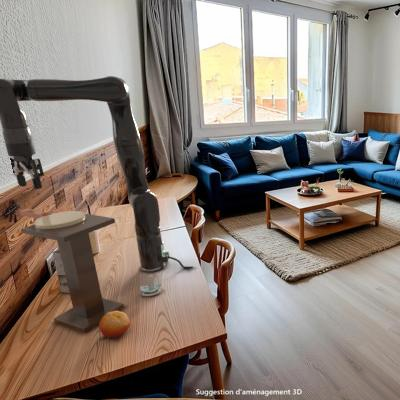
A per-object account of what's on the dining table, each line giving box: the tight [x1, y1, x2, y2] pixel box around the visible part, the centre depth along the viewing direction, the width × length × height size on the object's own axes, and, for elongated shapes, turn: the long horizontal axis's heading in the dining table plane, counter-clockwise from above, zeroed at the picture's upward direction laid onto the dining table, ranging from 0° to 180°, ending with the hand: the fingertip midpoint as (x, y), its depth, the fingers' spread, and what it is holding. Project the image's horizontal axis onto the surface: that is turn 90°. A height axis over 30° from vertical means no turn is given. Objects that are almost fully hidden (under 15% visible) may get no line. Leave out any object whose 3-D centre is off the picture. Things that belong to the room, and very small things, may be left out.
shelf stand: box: [22, 213, 125, 334], centre depth 108 cm, size 18×16×32 cm
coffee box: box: [51, 248, 70, 294], centre depth 127 cm, size 9×6×16 cm
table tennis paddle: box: [19, 208, 86, 229], centre depth 107 cm, size 25×13×2 cm, turn 66°
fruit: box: [98, 310, 131, 340], centre depth 102 cm, size 8×8×8 cm
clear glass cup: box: [139, 275, 163, 297], centre depth 124 cm, size 7×6×6 cm
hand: (30, 187), depth 121 cm, fingers open, 8 cm apart
